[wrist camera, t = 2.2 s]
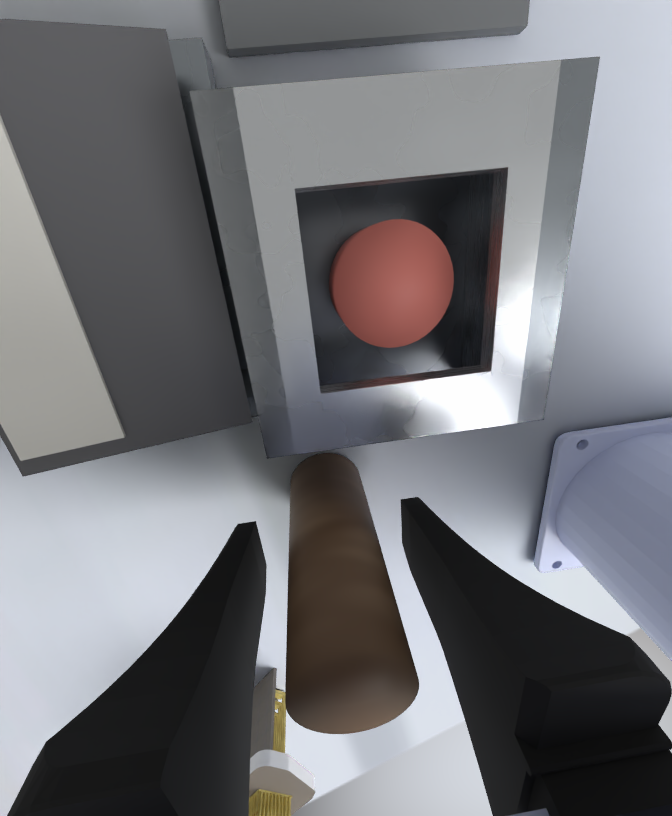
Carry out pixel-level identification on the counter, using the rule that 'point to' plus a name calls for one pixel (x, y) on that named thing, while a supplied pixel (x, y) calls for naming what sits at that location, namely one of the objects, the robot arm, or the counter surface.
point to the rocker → (104, 252)
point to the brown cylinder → (341, 608)
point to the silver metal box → (379, 201)
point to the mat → (362, 23)
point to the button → (391, 282)
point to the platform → (274, 757)
